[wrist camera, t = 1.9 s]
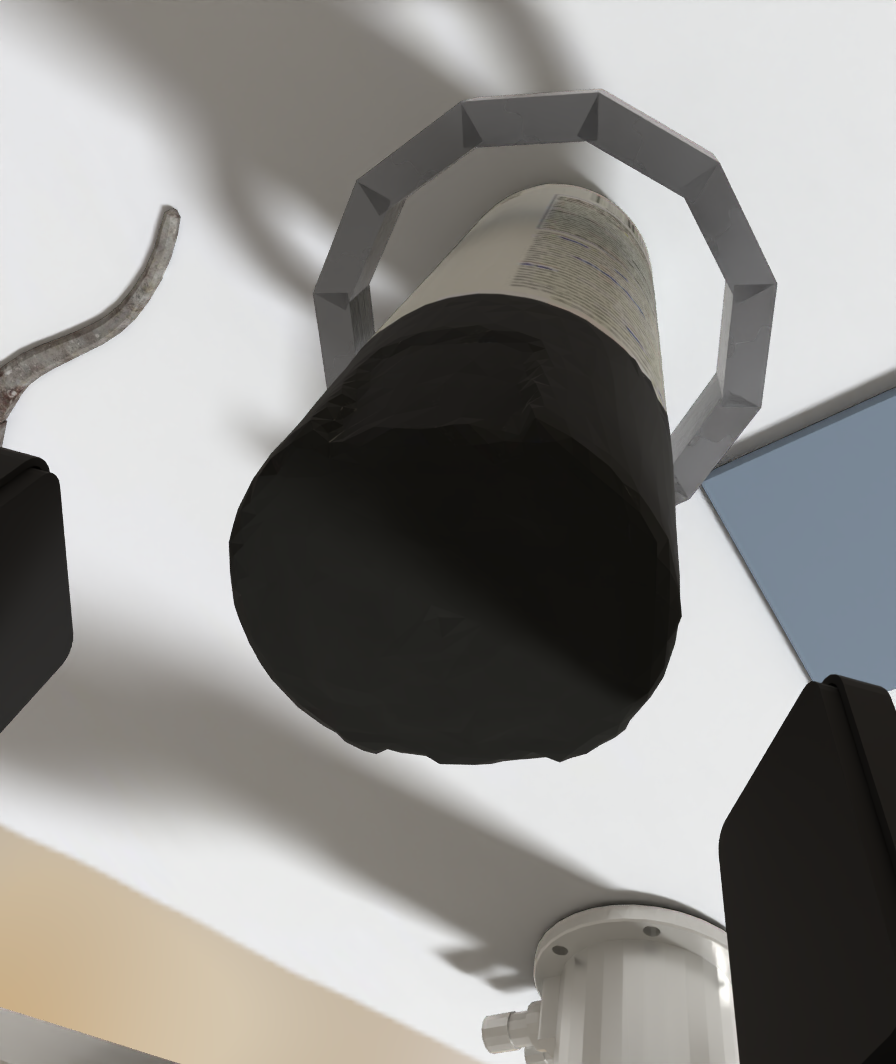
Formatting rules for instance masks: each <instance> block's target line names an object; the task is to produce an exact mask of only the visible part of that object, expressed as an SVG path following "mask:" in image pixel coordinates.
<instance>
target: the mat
mask: <svg viewBox="0 0 896 1064" xmlns="http://www.w3.org/2000/svg"><path fill="white" fill-rule="evenodd" d="M701 485H702V486H703V488H704V490H705V492H706V493H707V495H708V497H709V499H710V500H711V502H712V504H713V506H714V508H715V509H716V511H717V513H718V515H719V516H720V518H721V520H722V522H723V523H724V525H725V527H726V529H727V531H728V532H729V534H730V536H731V538H732V539H733V541H734V543H735V545H736V546H737V548H738V550H739V552H740V554H741V555H742V557H743V559H744V561H745V562H746V564H747V566H748V568H749V569H750V571H751V573H752V575H753V577H754V578H755V580H756V582H757V584H758V585H759V587H760V589H761V591H762V592H763V594H764V596H765V598H766V600H767V601H768V603H769V605H770V607H771V608H772V610H773V612H774V614H775V616H776V617H777V619H778V621H779V623H780V624H781V626H782V628H783V630H784V631H785V633H786V635H787V637H788V639H789V640H790V642H791V644H792V646H793V647H794V649H795V651H796V653H797V654H798V656H799V658H800V660H801V662H802V663H803V665H804V667H805V669H806V670H807V672H808V674H809V676H810V677H811V679H812V681H816V682H819V683H822V682H823V680H824V679H825V678H826V677H828V676H829V675H830V674H837V675H841V676H845V677H848V678H852V679H856V680H859V681H863V682H867V683H870V684H874V685H878V686H881V687H883V688H885V689H886V690H887V691H890V690H893V689H896V387H895V388H893V389H890V390H888V391H886V392H884V393H882V394H879V395H877V396H875V397H873V398H871V399H868V400H866V401H864V402H862V403H859V404H857V405H855V406H853V407H851V408H848V409H846V410H844V411H842V412H840V413H837V414H835V415H833V416H831V417H829V418H826V419H824V420H822V421H820V422H817V423H815V424H813V425H811V426H809V427H806V428H804V429H802V430H800V431H798V432H795V433H793V434H791V435H789V436H787V437H784V438H782V439H780V440H778V441H776V442H773V443H771V444H769V445H767V446H764V447H762V448H760V449H758V450H756V451H753V452H751V453H749V454H747V455H745V456H742V457H740V458H738V459H736V460H734V461H731V462H729V463H727V464H725V465H722V466H720V467H718V468H716V469H714V470H712V471H711V472H710V474H709V475H708V476H707V477H706V479H705V480H704V481H703V483H702V484H701Z"/></svg>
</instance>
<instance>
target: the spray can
mask: <svg viewBox="0 0 896 1064" xmlns="http://www.w3.org/2000/svg"><path fill="white" fill-rule="evenodd" d="M229 556H230V575H231V584H232V591H233V599H234V605H235V608H236V611H237V614H238V617H239V620H240V623H241V625H242V627H243V630H244V632H245V634H246V636H247V639H248V641H249V643H250V645H251V647H252V649H253V651H254V652H255V654H256V656H257V658H258V660H259V662H260V663H261V665H262V666H263V668H264V669H265V670H266V672H267V673H268V675H269V676H270V678H271V679H272V680H273V681H274V682H275V683H276V684H277V686H278V687H279V688H280V689H281V690H282V691H283V692H284V693H285V694H286V695H287V696H288V697H289V698H290V699H291V700H292V701H293V702H294V703H295V704H296V705H297V707H298V708H300V709H301V710H303V711H304V712H305V713H307V714H308V715H309V716H311V717H312V718H314V719H315V720H316V721H318V722H319V723H320V724H322V725H323V726H325V727H327V728H329V729H330V730H332V731H334V732H336V733H337V734H338V735H339V736H340V737H341V738H342V739H343V740H344V741H345V742H347V743H349V744H351V745H353V746H355V747H357V748H359V749H361V750H363V751H367V752H371V753H375V754H377V753H380V752H382V751H384V750H386V749H389V750H393V751H397V752H400V753H408V754H415V755H423V756H427V757H429V758H431V759H432V760H434V761H436V762H437V763H439V764H462V765H480V764H493V763H497V762H502V761H510V760H518V759H532V758H542V757H547V758H550V759H552V760H555V761H558V762H562V761H564V760H567V759H569V758H572V757H576V756H580V755H583V754H587V753H588V752H590V751H592V750H593V749H595V748H596V747H598V746H599V745H601V744H603V743H605V742H607V741H609V740H611V739H613V738H615V737H616V736H617V735H619V734H620V733H621V732H623V731H624V730H625V729H626V727H627V725H628V723H629V721H630V720H631V719H632V718H633V716H634V715H635V714H636V713H637V712H638V711H639V710H640V708H641V707H642V706H643V705H644V704H645V703H646V702H647V701H648V699H649V698H650V697H651V696H652V694H653V692H654V691H655V689H656V688H657V686H658V685H659V683H660V682H661V680H662V679H663V677H664V674H665V671H666V668H667V666H668V663H669V660H670V657H671V654H672V651H673V648H674V645H675V641H676V635H677V629H678V624H679V622H680V619H681V617H682V613H681V603H680V573H679V560H678V546H677V532H676V513H675V489H674V466H673V455H672V445H671V437H670V429H669V422H668V416H667V411H666V401H665V391H664V381H663V371H662V357H661V352H660V341H659V331H658V323H657V313H656V301H655V293H654V286H653V277H652V267H651V263H650V258H649V254H648V250H647V247H646V245H645V243H644V240H643V238H642V236H641V234H640V233H639V231H638V229H637V227H636V226H635V224H634V223H633V222H632V221H631V219H630V218H629V217H628V216H627V215H626V214H625V213H624V212H623V211H622V210H621V209H620V208H619V207H618V206H617V205H615V204H614V203H613V202H611V201H610V200H608V199H607V198H606V197H604V196H602V195H600V194H598V193H596V192H593V191H591V190H588V189H586V188H582V187H578V186H573V185H568V184H544V185H539V186H535V187H531V188H528V189H525V190H522V191H518V192H517V193H515V194H513V195H511V196H509V197H507V198H506V199H504V200H503V201H501V202H499V203H498V204H496V205H495V206H494V207H493V208H492V209H491V210H489V211H488V212H487V213H486V214H485V215H484V216H483V217H482V218H481V219H480V220H479V222H478V223H477V224H476V225H475V226H474V227H473V228H472V229H471V230H470V231H469V232H468V233H467V235H466V236H465V237H464V238H463V239H462V240H461V241H460V242H459V244H458V245H457V246H456V247H455V248H454V249H453V250H452V251H451V252H450V253H449V254H448V255H447V256H446V257H445V259H444V260H443V261H442V262H441V263H440V264H439V265H438V266H437V267H436V268H435V270H434V271H433V272H432V273H431V274H430V275H429V276H428V277H427V278H426V279H425V280H424V281H423V282H422V284H421V285H420V286H419V287H418V288H417V289H416V290H415V291H414V292H413V293H412V294H411V295H410V296H409V298H408V299H407V300H406V301H405V302H404V303H403V304H402V305H401V306H400V307H399V308H398V309H397V310H396V312H395V313H394V314H393V315H392V316H391V317H390V318H389V319H388V320H387V321H386V322H385V324H384V325H383V326H382V327H381V328H380V329H379V330H378V331H377V332H376V333H375V334H374V335H373V336H372V338H371V339H370V340H369V341H368V342H367V343H366V344H365V345H364V346H363V347H362V348H361V349H360V351H359V352H358V353H357V355H356V356H355V357H354V358H353V360H352V361H351V362H350V364H349V365H348V366H347V367H346V369H345V370H344V371H343V372H342V373H341V374H340V375H339V376H338V378H337V379H336V380H335V381H334V382H333V383H332V385H331V386H330V387H329V388H328V389H327V391H326V392H325V393H324V394H323V395H322V396H321V398H320V399H319V400H318V401H317V402H316V404H315V405H314V406H313V407H312V408H311V410H310V411H309V412H308V413H307V415H306V416H305V417H304V418H303V420H302V421H301V422H300V423H299V424H298V425H297V426H296V428H295V429H294V430H293V431H292V432H291V433H290V434H289V435H288V436H287V437H286V439H285V440H284V441H283V442H282V443H281V444H280V445H279V446H278V447H277V448H276V449H275V450H274V451H273V452H272V453H271V455H270V456H269V457H268V459H267V460H266V461H265V463H264V464H263V466H262V467H261V468H260V470H259V471H258V473H257V474H256V475H255V477H254V478H253V480H252V482H251V484H250V486H249V488H248V490H247V492H246V494H245V496H244V498H243V500H242V502H241V504H240V506H239V508H238V510H237V514H236V517H235V521H234V524H233V528H232V532H231V536H230V540H229Z"/></svg>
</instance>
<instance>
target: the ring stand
mask: <svg viewBox="0 0 896 1064" xmlns="http://www.w3.org/2000/svg"><path fill="white" fill-rule="evenodd" d="M580 141H587V142H589V143H590V144H592V145H594V146H596V147H597V148H599V149H601V150H602V151H604V152H606V153H608V154H609V155H611V156H613V157H615V158H616V159H618V160H620V161H621V162H623V163H625V164H627V165H628V166H630V167H632V168H634V169H635V170H637V171H639V172H641V173H642V174H644V175H646V176H647V177H649V178H651V179H653V180H654V181H656V182H658V183H660V184H661V185H663V186H665V187H666V188H668V189H670V190H672V191H673V192H675V193H677V194H679V195H680V196H682V197H684V198H685V200H686V202H687V204H688V206H689V208H690V210H691V212H692V214H693V216H694V218H695V220H696V222H697V224H698V226H699V228H700V230H701V232H702V234H703V236H704V238H705V240H706V242H707V244H708V246H709V248H710V250H711V252H712V254H713V256H714V258H715V260H716V262H717V264H718V266H719V268H720V270H721V272H722V274H723V276H724V278H725V290H724V300H723V310H722V320H721V330H720V341H719V351H718V361H717V371H716V374H715V375H714V376H713V378H712V379H711V381H710V382H709V383H708V385H707V386H706V387H705V389H704V390H703V392H702V393H701V394H700V396H699V397H698V398H697V400H696V401H695V403H694V404H693V405H692V407H691V408H690V409H689V411H688V412H687V414H686V415H685V416H684V418H683V419H682V420H681V422H680V423H679V425H678V426H677V427H676V429H675V430H674V431H673V433H672V434H671V436H670V437H671V445H672V455H673V466H674V489H675V505H677V504H680V503H682V502H684V501H687V500H689V499H690V498H691V497H692V495H693V494H694V493H695V491H696V490H697V489H698V488H699V486H700V485H701V484H702V483H703V481H704V480H705V479H706V477H707V476H708V475H709V474H710V472H711V471H712V470H713V468H714V467H715V466H716V465H717V463H718V462H719V461H720V460H721V458H722V457H723V456H724V454H725V453H726V452H727V451H728V449H729V448H730V447H731V445H732V444H733V443H734V442H735V440H736V439H737V438H738V437H739V435H740V434H741V433H742V431H743V430H744V429H745V428H746V426H747V425H748V424H749V422H750V421H751V420H752V419H753V417H754V416H755V415H756V414H757V412H758V411H759V410H760V408H761V405H762V397H763V390H764V382H765V374H766V367H767V359H768V351H769V344H770V336H771V328H772V321H773V313H774V305H775V297H776V290H777V282H776V280H775V278H774V276H773V273H772V271H771V269H770V267H769V265H768V263H767V261H766V259H765V257H764V255H763V253H762V250H761V248H760V246H759V244H758V242H757V240H756V238H755V236H754V234H753V232H752V230H751V227H750V225H749V223H748V221H747V219H746V217H745V215H744V213H743V211H742V209H741V206H740V204H739V202H738V200H737V198H736V196H735V194H734V192H733V190H732V188H731V186H730V183H729V181H728V179H727V177H726V175H725V173H724V171H723V169H722V167H721V165H720V163H719V161H718V160H717V159H716V157H715V156H714V154H713V153H711V152H710V151H708V150H706V149H704V148H703V147H701V146H699V145H698V144H696V143H694V142H693V141H691V140H689V139H687V138H686V137H684V136H682V135H681V134H679V133H677V132H675V131H674V130H672V129H670V128H669V127H667V126H665V125H663V124H662V123H660V122H658V121H657V120H655V119H653V118H651V117H650V116H648V115H646V114H645V113H643V112H641V111H639V110H638V109H636V108H634V107H633V106H631V105H629V104H627V103H626V102H624V101H622V100H621V99H619V98H617V97H615V96H614V95H612V94H610V93H609V92H607V91H605V90H603V89H590V90H576V91H562V92H547V93H533V94H518V95H504V96H489V97H475V98H472V99H468V100H465V101H461V102H460V103H458V104H457V105H456V106H454V107H453V108H452V109H450V110H449V111H448V112H446V113H445V114H444V115H442V116H441V117H440V118H438V119H437V120H436V121H434V122H433V123H432V124H431V125H429V126H428V127H427V128H425V129H424V130H423V131H421V132H420V133H419V134H417V135H416V136H415V137H413V138H412V139H411V140H409V141H408V142H407V143H405V144H404V145H403V146H402V147H400V148H399V149H398V150H396V151H395V152H394V153H392V154H391V155H390V156H388V157H387V158H386V159H384V160H383V161H382V162H380V163H379V164H378V165H376V166H375V167H374V168H372V169H371V170H370V171H369V172H367V173H366V174H365V175H363V176H362V177H361V178H359V179H358V180H357V181H356V183H355V186H354V188H353V191H352V194H351V196H350V199H349V201H348V204H347V207H346V209H345V212H344V214H343V217H342V219H341V222H340V225H339V227H338V230H337V232H336V235H335V238H334V240H333V243H332V245H331V248H330V250H329V253H328V256H327V258H326V261H325V263H324V266H323V268H322V271H321V274H320V276H319V279H318V281H317V284H316V287H315V289H314V292H313V296H314V303H315V310H316V317H317V323H318V330H319V337H320V344H321V351H322V357H323V364H324V371H325V378H326V384H327V389H328V388H329V387H330V386H331V385H332V383H333V382H334V381H335V380H336V379H337V378H338V376H339V375H340V374H341V373H342V372H343V371H344V370H345V369H346V367H347V366H348V365H349V364H350V362H351V361H352V360H353V358H354V357H355V356H356V355H357V353H358V352H359V351H360V349H361V348H362V347H363V346H364V345H365V344H366V343H367V342H368V341H369V340H370V339H371V338H372V336H373V335H374V334H375V330H374V321H373V312H372V303H371V294H370V286H369V284H370V282H371V279H372V277H373V275H374V272H375V270H376V268H377V265H378V263H379V261H380V258H381V256H382V254H383V251H384V249H385V247H386V244H387V242H388V240H389V237H390V235H391V233H392V230H393V228H394V226H395V223H396V221H397V218H398V216H399V214H400V211H401V209H402V207H403V204H404V202H405V200H406V198H407V197H408V196H410V195H411V194H413V193H414V192H415V191H417V190H418V189H420V188H421V187H422V186H424V185H425V184H426V183H428V182H429V181H431V180H432V179H433V178H435V177H436V176H438V175H439V174H440V173H442V172H443V171H444V170H446V169H447V168H449V167H450V166H451V165H453V164H454V163H456V162H457V161H458V160H460V159H461V158H462V157H464V156H465V155H467V154H468V153H469V152H471V151H472V150H474V149H475V148H476V147H491V146H509V145H527V144H545V143H562V142H580Z"/></svg>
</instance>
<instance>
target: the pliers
mask: <svg viewBox="0 0 896 1064" xmlns="http://www.w3.org/2000/svg"><path fill="white" fill-rule="evenodd" d="M179 224H180V215H179V213H178V211H177V210H176V209H174V208H173V209H170V210H168V211H166V212H165V213H164V216H163V219H162V223H161V226H160V229H159V232H158V236H157V240H156V243H155V247H154V250H153V252H152V254H151V257H150V259H149V261H148V264H147V266H146V268H145V270H144V272H143V274H142V275H141V277H140V278H139V280H138V282H137V283H136V285H135V286H134V288H133V289H132V291H131V292H130V293H129V294H128V295H127V297H126V298H125V299H124V300H123V301H122V303H121V304H120V305H119V306H118V307H117V308H115V309H114V310H113V311H112V312H110V313H109V314H108V315H107V316H106V317H104V318H103V319H101V320H99V321H97V322H95V323H93V324H91V325H89V326H87V327H85V328H83V329H81V330H78V331H76V332H74V333H71V334H69V335H66V336H64V337H62V338H59V339H57V340H54V341H51V342H48V343H45V344H43V345H40V346H38V347H36V348H34V349H31V350H29V351H27V352H25V353H23V354H21V355H19V356H18V357H16V358H15V359H13V360H12V361H10V362H9V363H7V364H6V365H4V366H3V367H2V368H0V447H2V444H3V439H4V433H5V428H6V423H7V421H6V419H7V418H8V416H9V414H10V413H11V411H12V409H13V408H14V406H15V405H16V403H17V401H18V400H19V398H20V396H21V394H22V393H23V392H24V391H25V390H26V388H27V387H28V386H29V385H30V384H31V383H32V382H34V381H35V380H36V379H38V378H39V377H40V376H42V375H43V374H45V373H47V372H49V371H50V370H52V369H54V368H56V367H58V366H60V365H62V364H64V363H66V362H68V361H70V360H72V359H74V358H76V357H78V356H80V355H82V354H84V353H86V352H88V351H90V350H92V349H94V348H96V347H98V346H100V345H102V344H104V343H105V342H107V341H108V340H110V339H111V338H113V337H115V336H116V335H118V334H119V333H121V332H122V331H123V330H124V329H125V328H126V327H127V326H128V325H129V324H130V323H131V322H132V321H134V320H135V319H136V318H137V316H138V315H139V314H140V312H141V311H142V310H143V308H144V307H145V306H146V304H147V303H148V302H149V300H150V299H151V297H152V295H153V294H154V292H155V290H156V288H157V287H158V285H159V283H160V282H161V280H162V278H163V275H164V273H165V271H166V268H167V266H168V264H169V261H170V259H171V256H172V253H173V249H174V246H175V242H176V239H177V236H178V230H179Z"/></svg>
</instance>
